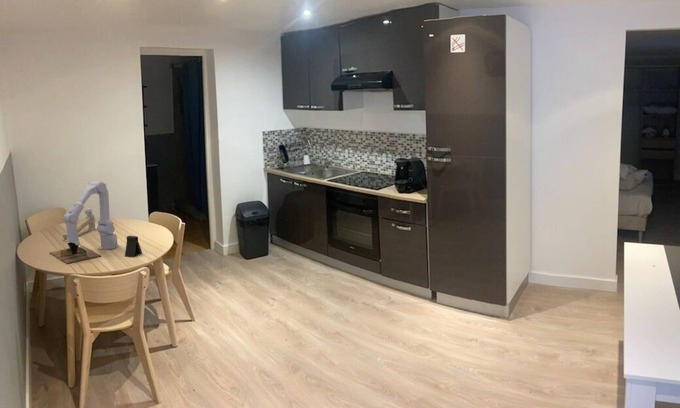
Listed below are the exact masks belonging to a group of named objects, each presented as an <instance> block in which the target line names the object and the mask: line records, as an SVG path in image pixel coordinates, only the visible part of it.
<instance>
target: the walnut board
mask: <svg viewBox="0 0 680 408" xmlns="http://www.w3.org/2000/svg"><path fill="white" fill-rule="evenodd" d="M81 246H82V247H83V248H85V249H87V250H88V255H89V257H86V256H84V255H82V254H79V253H77V254H74V255H73V254H72V255H67V256H62V257H60V250H55V251H49V254H50V255H51V256H52V257H54V256H55V257H54V258H56V259H57V260H59V261H61V262H62V261H63V262H62V263H64V264H65V265H70V264H74V263H79V262H83V261H88V260H92V259H97V258H102V255H101V254H99V253H97V252H95V251H94V250H91V249H89V248H88V247H86V246H84V245H81Z"/></svg>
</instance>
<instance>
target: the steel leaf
mask: <svg viewBox="0 0 680 408" xmlns="http://www.w3.org/2000/svg"><path fill="white" fill-rule="evenodd" d="M78 253H79V254H82V255H84V256H86V257H89V255H88V250H87V249H85V248H83V247H80V250H78Z"/></svg>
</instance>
